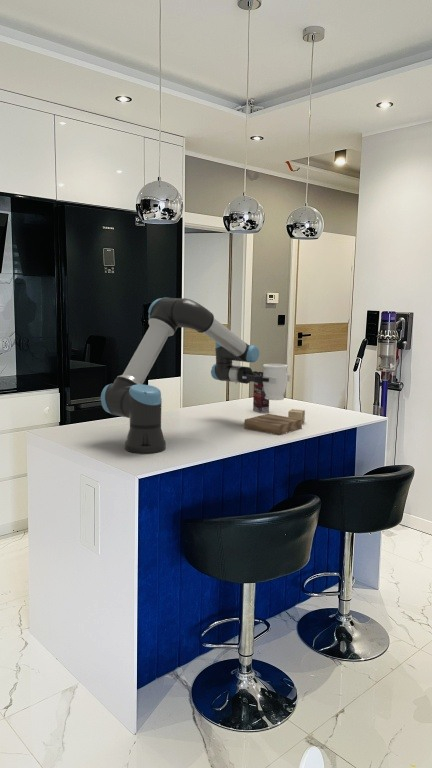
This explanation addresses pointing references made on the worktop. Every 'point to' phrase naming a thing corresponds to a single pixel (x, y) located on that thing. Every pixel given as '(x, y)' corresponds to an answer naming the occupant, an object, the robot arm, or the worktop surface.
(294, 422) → the walnut slab
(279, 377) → the jar
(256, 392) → the supplement box
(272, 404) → the worktop surface
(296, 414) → the oak cube
